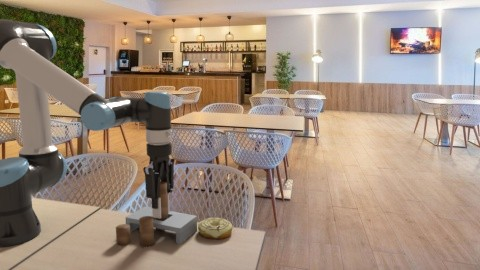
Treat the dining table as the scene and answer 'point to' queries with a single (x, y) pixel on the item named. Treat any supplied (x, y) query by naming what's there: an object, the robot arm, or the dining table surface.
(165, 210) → the long dowel
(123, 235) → the short dowel
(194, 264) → the dining table surface
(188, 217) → the bridge
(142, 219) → the medium dowel
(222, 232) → the decorated donut
